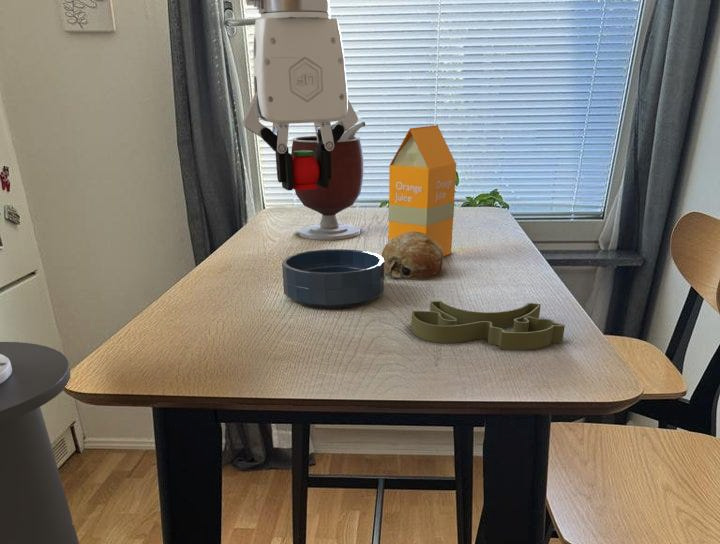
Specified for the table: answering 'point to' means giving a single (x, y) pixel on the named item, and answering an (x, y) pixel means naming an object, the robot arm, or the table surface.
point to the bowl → (333, 277)
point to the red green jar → (305, 170)
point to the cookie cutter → (487, 326)
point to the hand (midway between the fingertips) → (305, 185)
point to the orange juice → (423, 187)
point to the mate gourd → (334, 186)
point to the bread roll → (412, 256)
